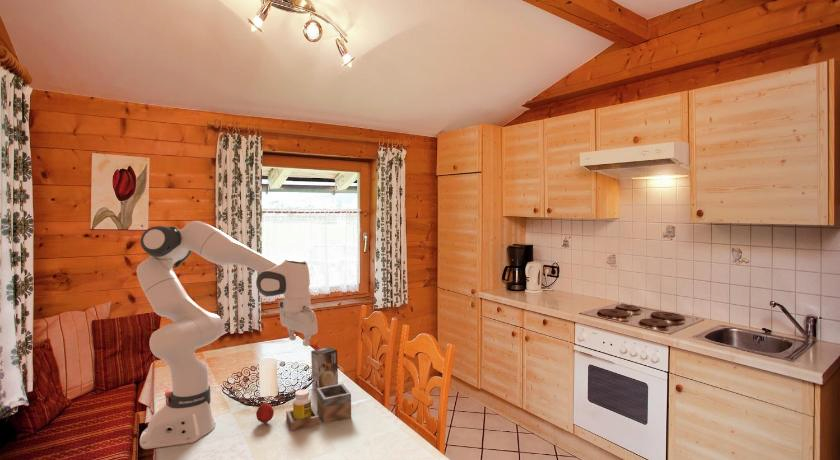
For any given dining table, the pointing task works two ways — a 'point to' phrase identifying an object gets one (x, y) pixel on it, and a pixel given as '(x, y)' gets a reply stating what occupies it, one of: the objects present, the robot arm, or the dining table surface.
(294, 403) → the pill bottle
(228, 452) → the dining table surface
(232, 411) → the dining table surface
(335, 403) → the stepped holder
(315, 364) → the coffee box
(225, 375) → the dining table surface
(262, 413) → the onion
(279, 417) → the dining table surface
